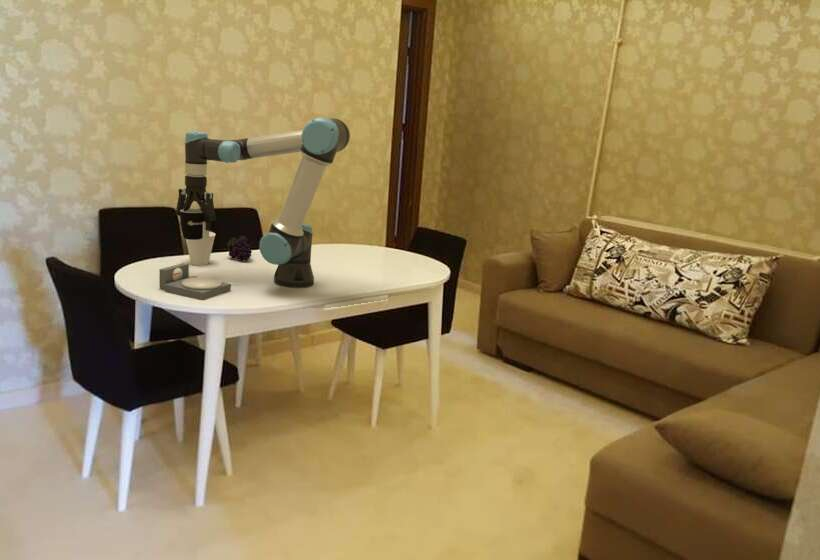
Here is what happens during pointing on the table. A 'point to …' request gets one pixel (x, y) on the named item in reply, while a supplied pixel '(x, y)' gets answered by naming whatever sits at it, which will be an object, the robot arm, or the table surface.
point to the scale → (190, 283)
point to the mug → (192, 224)
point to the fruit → (239, 248)
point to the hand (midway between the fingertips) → (195, 236)
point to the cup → (200, 250)
